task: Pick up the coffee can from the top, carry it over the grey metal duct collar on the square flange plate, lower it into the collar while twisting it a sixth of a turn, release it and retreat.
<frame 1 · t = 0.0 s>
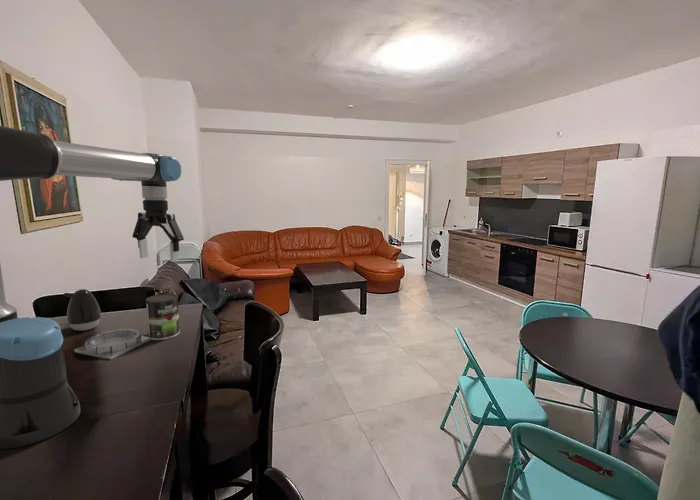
hand: (159, 259, 121), 28 cm above the table, tool pointing down, fingers open, 13 cm apart
duct collar: (114, 346, 114), on the table
coffee can: (164, 335, 124), on the table
pump dispenser: (85, 328, 128), on the table
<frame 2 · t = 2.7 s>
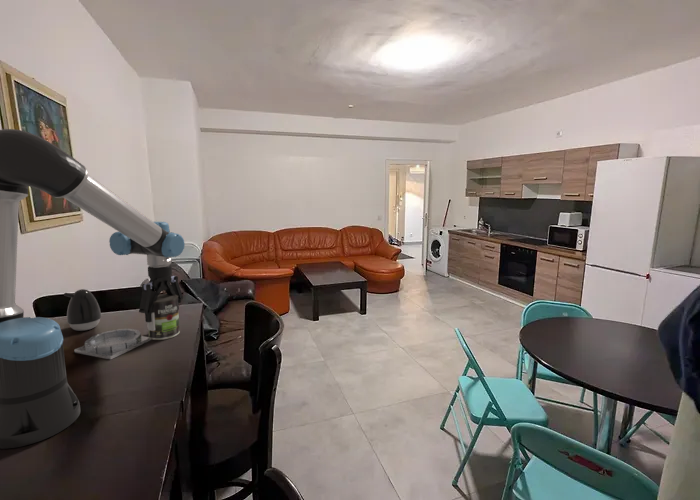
hand: (163, 324, 123), 4 cm above the table, tool pointing down, fingers closed on coffee can, 10 cm apart
coffee can: (164, 334, 124), on the table, touching gripper
everything else where it was.
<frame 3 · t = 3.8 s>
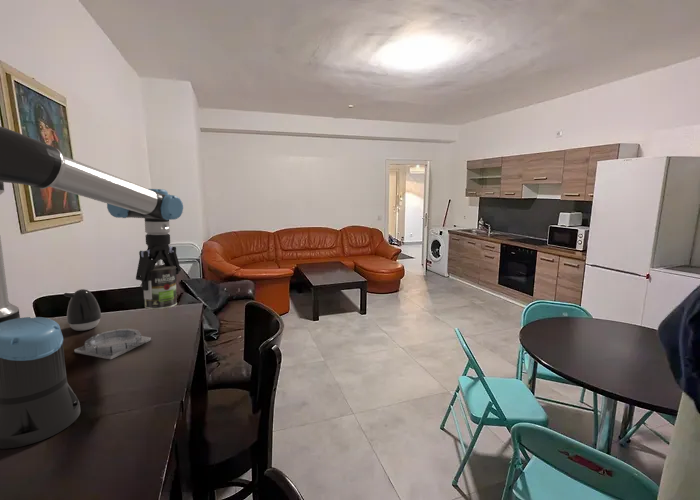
hand: (160, 295, 121), 15 cm above the table, tool pointing down, fingers closed on coffee can, 10 cm apart
coffee can: (161, 305, 122), point 11 cm above the table, touching gripper
everything else where it was.
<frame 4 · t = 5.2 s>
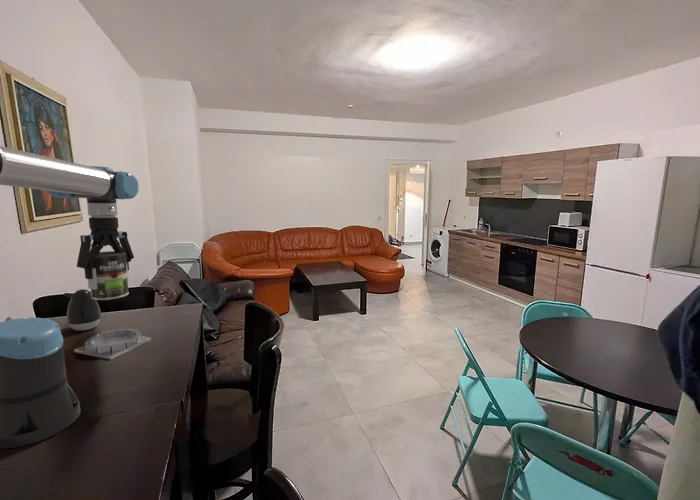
hand: (109, 284, 110), 21 cm above the table, tool pointing down, fingers closed on coffee can, 10 cm apart
coffee can: (110, 296, 111), point 17 cm above the table, touching gripper
everything else where it was.
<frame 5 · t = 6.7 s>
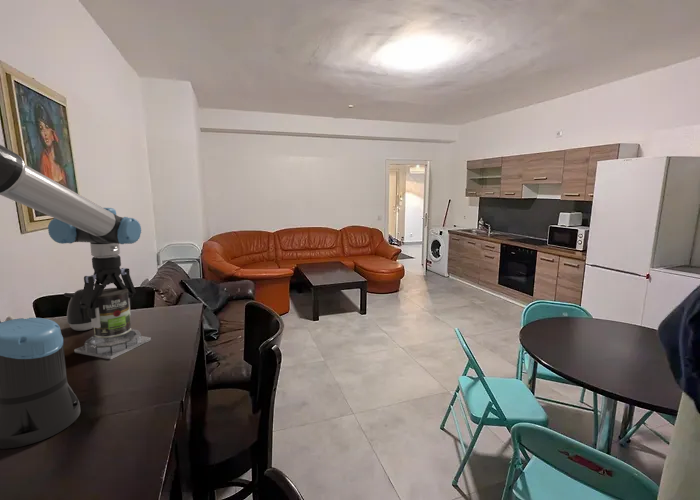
hand: (112, 321, 112), 9 cm above the table, tool pointing down, fingers closed on coffee can, 10 cm apart
coffee can: (113, 332, 113), point 5 cm above the table, touching gripper
everything else where it was.
when the fingers open (6 cm above the table, at t = 8.0 s): coffee can drops 1 cm, resting on duct collar.
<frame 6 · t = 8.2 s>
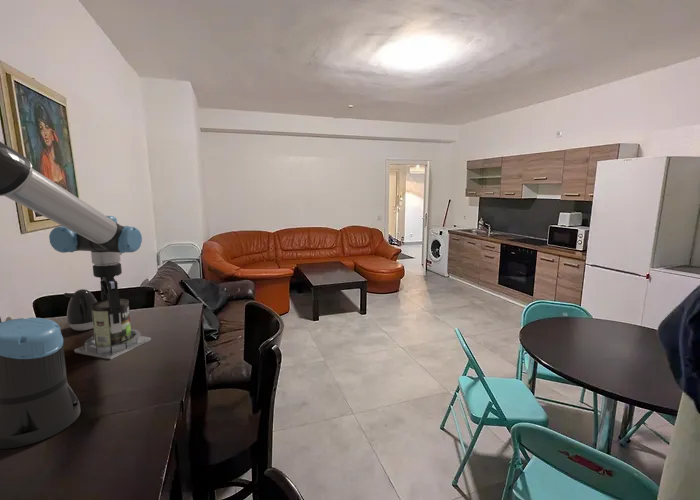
hand: (112, 326, 113), 7 cm above the table, tool pointing down, fingers open, 12 cm apart
coffee can: (113, 343, 114), point 1 cm above the table, touching duct collar
everything else where it was.
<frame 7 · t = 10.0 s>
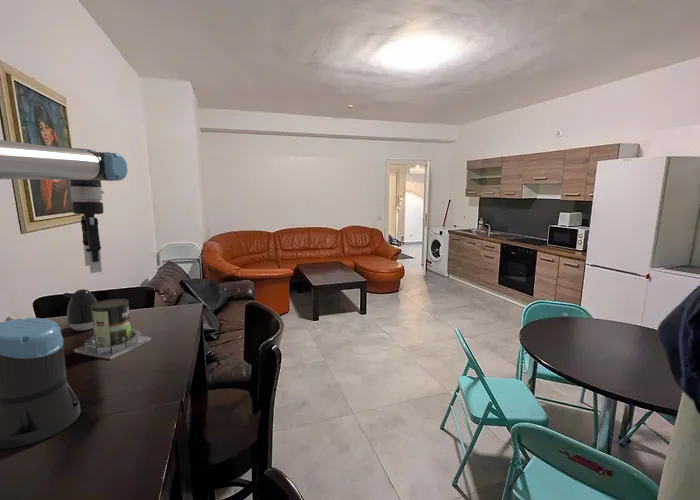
hand: (93, 268, 107), 27 cm above the table, tool pointing down, fingers open, 13 cm apart
nothing on the table moved.
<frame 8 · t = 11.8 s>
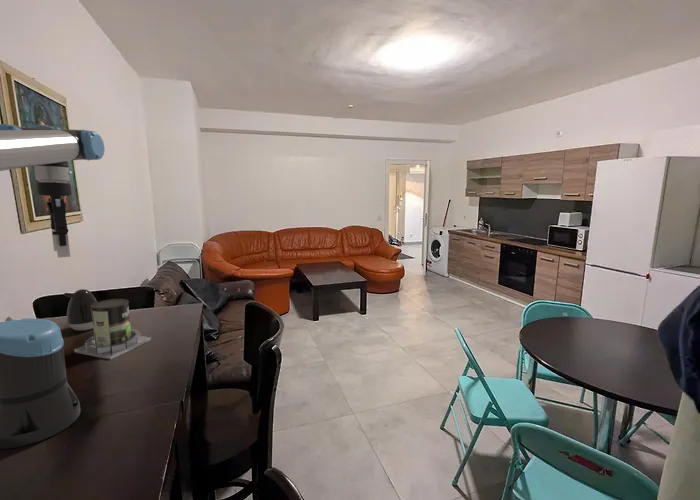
hand: (61, 253, 102), 33 cm above the table, tool pointing down, fingers open, 13 cm apart
nothing on the table moved.
at the end: coffee can 0.1 cm off-centre on the duct collar, point 0.8 cm above the duct collar's base; coffee can tilted 0°; the gripper is holding nothing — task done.
